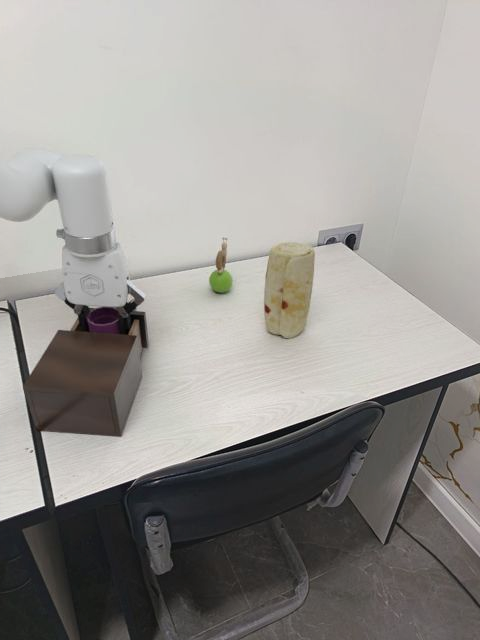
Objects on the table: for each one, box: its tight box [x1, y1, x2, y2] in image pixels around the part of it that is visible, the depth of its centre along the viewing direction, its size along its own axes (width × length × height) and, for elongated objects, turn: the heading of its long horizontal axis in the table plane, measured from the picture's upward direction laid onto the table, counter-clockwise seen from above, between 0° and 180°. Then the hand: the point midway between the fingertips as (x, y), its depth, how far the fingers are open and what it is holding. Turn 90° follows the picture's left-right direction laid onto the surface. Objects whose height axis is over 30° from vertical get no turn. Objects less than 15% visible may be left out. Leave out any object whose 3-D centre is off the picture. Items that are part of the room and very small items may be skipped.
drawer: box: [69, 306, 150, 357], centre depth 92 cm, size 19×12×8 cm, turn 178°
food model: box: [263, 241, 316, 339], centre depth 99 cm, size 10×7×20 cm
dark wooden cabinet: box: [22, 329, 143, 438], centre depth 82 cm, size 15×14×10 cm
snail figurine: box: [208, 236, 234, 294], centre depth 113 cm, size 5×6×12 cm
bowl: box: [86, 306, 120, 334], centre depth 89 cm, size 6×6×4 cm
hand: (106, 329), depth 89 cm, fingers closed on bowl, 6 cm apart
